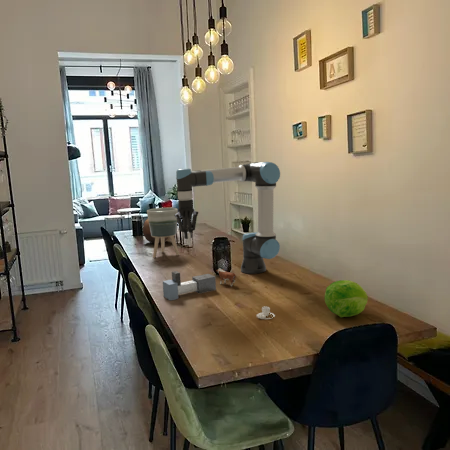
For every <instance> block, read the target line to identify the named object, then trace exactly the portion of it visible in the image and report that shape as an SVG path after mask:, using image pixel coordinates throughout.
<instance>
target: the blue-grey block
mask: <svg viewBox="0 0 450 450" xmlns="http://www.w3.org/2000/svg"><path fill="white" fill-rule="evenodd" d="M162 293H163V294H162V295H163V297H164V298H166V299H167V300H168V301H174V300H178V299H179V295H178V283H176V282H174V281H173V280H172V279H167V280H162Z"/></svg>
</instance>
